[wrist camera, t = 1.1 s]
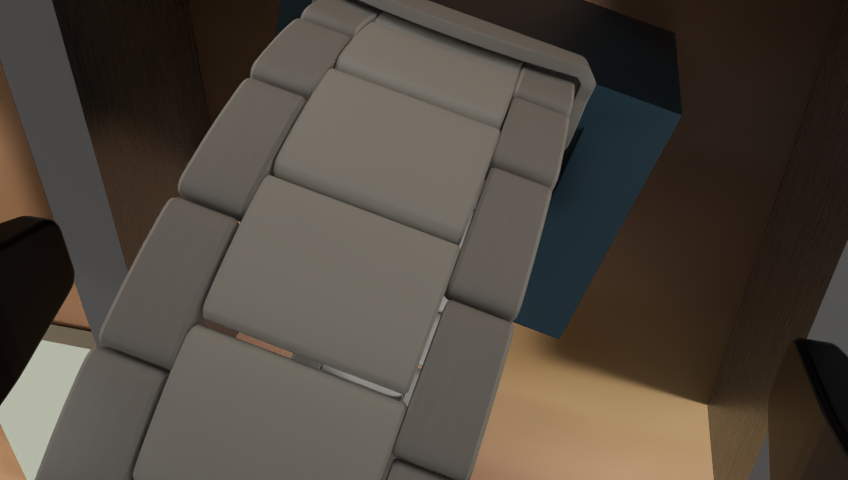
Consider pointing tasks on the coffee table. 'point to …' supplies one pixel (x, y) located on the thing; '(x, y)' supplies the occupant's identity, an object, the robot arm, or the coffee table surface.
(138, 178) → the grey u-shaped piece
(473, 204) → the watch
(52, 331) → the pad
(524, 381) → the coffee table surface
